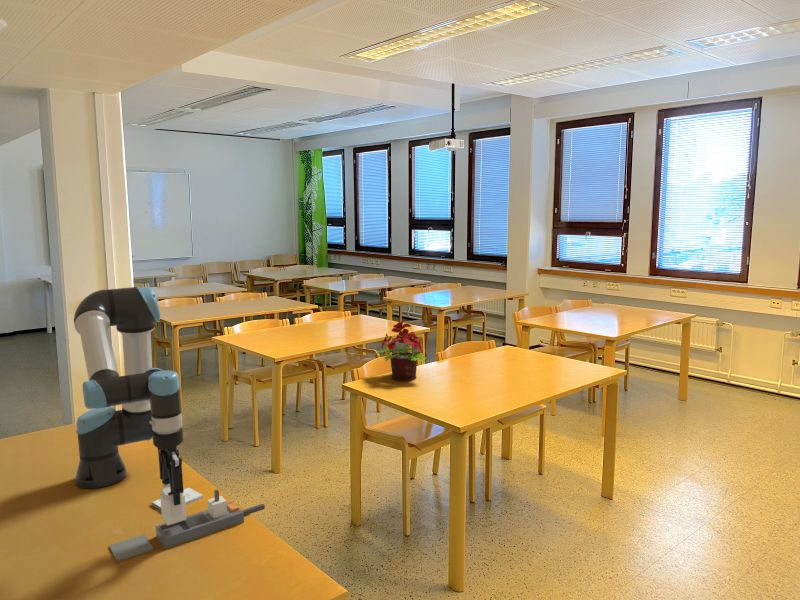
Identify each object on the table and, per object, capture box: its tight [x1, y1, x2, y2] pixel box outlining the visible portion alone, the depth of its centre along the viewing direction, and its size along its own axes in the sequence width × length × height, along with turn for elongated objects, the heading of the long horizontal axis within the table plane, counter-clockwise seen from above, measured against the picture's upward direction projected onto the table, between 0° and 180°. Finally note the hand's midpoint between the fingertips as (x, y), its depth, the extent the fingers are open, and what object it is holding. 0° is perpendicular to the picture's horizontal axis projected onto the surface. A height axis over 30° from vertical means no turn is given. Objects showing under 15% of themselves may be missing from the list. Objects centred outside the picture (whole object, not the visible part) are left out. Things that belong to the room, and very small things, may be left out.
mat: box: [108, 534, 155, 563], centre depth 162 cm, size 9×9×1 cm
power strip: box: [155, 489, 266, 550], centre depth 172 cm, size 30×8×10 cm, turn 127°
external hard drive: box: [151, 487, 204, 511], centre depth 187 cm, size 2×8×12 cm
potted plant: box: [373, 321, 428, 382], centre depth 313 cm, size 30×27×30 cm
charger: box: [159, 487, 187, 525], centre depth 165 cm, size 5×5×8 cm
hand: (173, 510), depth 166 cm, fingers closed on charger, 5 cm apart
